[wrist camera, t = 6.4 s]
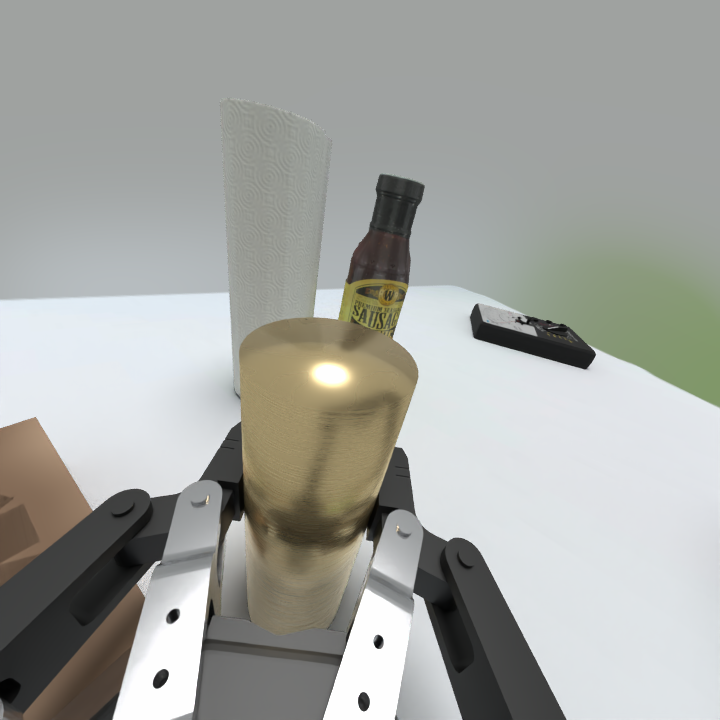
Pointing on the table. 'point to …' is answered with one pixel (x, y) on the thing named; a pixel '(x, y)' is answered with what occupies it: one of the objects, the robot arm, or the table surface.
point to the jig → (32, 537)
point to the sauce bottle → (383, 258)
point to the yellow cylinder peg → (314, 459)
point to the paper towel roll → (271, 214)
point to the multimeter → (530, 336)
